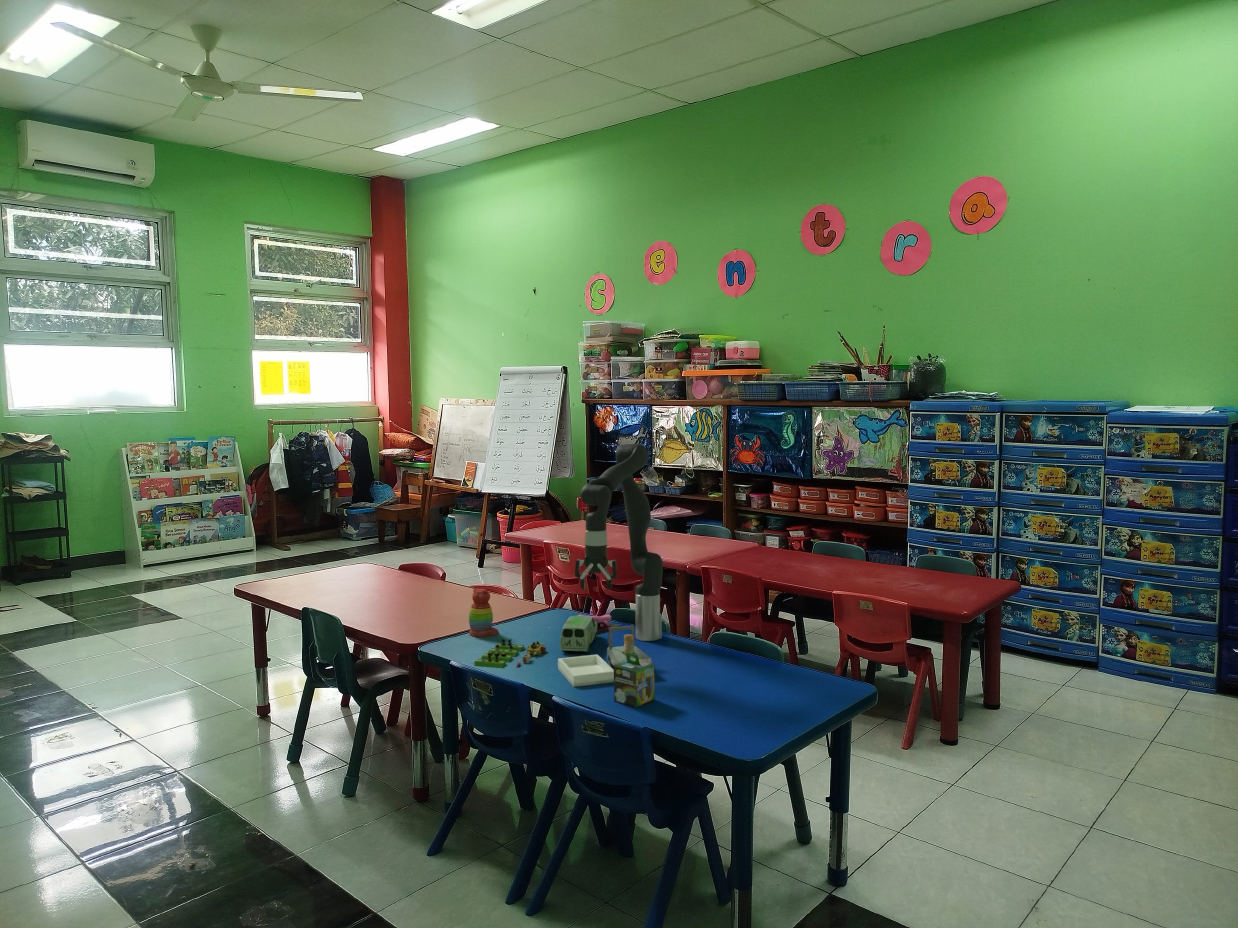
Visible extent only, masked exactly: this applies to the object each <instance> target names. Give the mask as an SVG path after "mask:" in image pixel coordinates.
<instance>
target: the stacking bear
mask: <svg viewBox="0 0 1238 928" xmlns="http://www.w3.org/2000/svg"><path fill="white" fill-rule="evenodd" d="M472 592H473V593H472V596H471V597H472V601H473V603H472V604H471V606H470V608H469V612H468V624H469V628H470V629H469V635H470V636H472V637H474V638H475V637H476V638H479V637H481V638H482V637H490V636H494V635H497V634H499V629H498V628H497V627H493V626H492V625H493V622H494V613H493V610H492V606H491V604H490V603H489V601H490V599H491V593H490V592H489V591H488V590H487V589H486V588H476V587H475V588H474V589H473V591H472Z"/></svg>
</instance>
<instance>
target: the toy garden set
mask: <svg viewBox="0 0 1238 928" xmlns="http://www.w3.org/2000/svg"><path fill="white" fill-rule="evenodd" d="M523 650H525V644H515V643H512V639H511V638H510V639H508V640H507V643H506V639H505V638H501V642H498V643H497V644H495V646H494V647H491V649H489V650H488V652H486V653H484V654H482V655H481V658H477V659H476V660H475V661H474V664H473V665H474V666H475V667H476V666H477V667H488V668H489V667H490V668H500V669H501V668H503V667H504V666H506V664H507V663H510V661H511V660H513V657H514V658H515V657H516V656H518V654H519V652H522V651H523ZM526 652H527V653H526V654H522V658H521V657H520V658H519V660H518V662H517V664H516V668H518V667H520V665H521V661H522V663H523V664H528V663H530V662H531V656H532V655H533V656H535V655H538V656H539V655H541V654H545V653H546V652H547V648H546V647H545V646H544V643H543V642H540V641H533V642H532V643H531V644H530V645H528V646H527V651H526Z"/></svg>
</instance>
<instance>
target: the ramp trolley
mask: <svg viewBox="0 0 1238 928" xmlns="http://www.w3.org/2000/svg"><path fill="white" fill-rule="evenodd" d="M626 630H630V631H629V632H630V634H632V635H633V654H636V655H638V658H639V660H644V661H649V662H652V658H651V657H650V656H649V655H648V654H646V653H645V652H644V651H642V650H641V649H640V648H639V647H638V646H636V645H635V625H633V624H632V625H624V626H623V625H621V627H611V628H609V632H608V647H607V648H606V660H607V664H608V665H609V666H610V667H611V668H614V667H613V666H614V665H615V664H617V663H620V662H621V661H624V660H627V658H626V655H624V645H622V646H613V632H616V631H626ZM630 658H634V657H632V656H631V657H630ZM634 659H635V658H634Z"/></svg>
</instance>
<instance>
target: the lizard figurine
mask: <svg viewBox="0 0 1238 928" xmlns="http://www.w3.org/2000/svg"><path fill="white" fill-rule="evenodd" d="M576 616H585V615H583V614H577V615H576ZM588 616H589V617H593V619H594V621H595V622H597V630H598V632H596V636H598V635H601V634H605V633H609V628H611V627H621V626H622V625H620V624H617V623H613V622H610V621H611V620H612V615H611V614H603V615H601V616H598V615H588Z"/></svg>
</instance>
